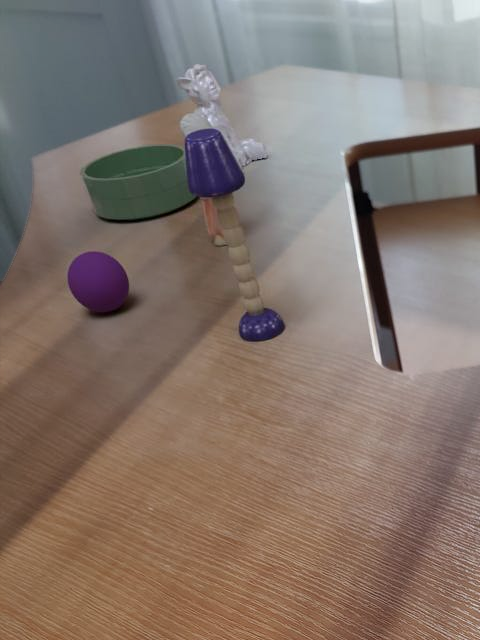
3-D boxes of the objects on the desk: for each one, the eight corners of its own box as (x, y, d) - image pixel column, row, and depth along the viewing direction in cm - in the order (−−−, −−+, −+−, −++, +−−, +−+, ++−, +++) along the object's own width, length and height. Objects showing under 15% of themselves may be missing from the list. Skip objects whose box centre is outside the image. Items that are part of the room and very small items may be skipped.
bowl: (91, 231, 106) (73, 187, 102) (102, 196, 115) (86, 155, 112) (199, 212, 107) (186, 167, 103) (201, 179, 116) (189, 138, 113)
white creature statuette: (236, 179, 114) (208, 74, 106) (181, 179, 117) (149, 76, 109) (271, 156, 121) (246, 54, 112) (218, 156, 123) (189, 56, 115)
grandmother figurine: (214, 230, 102) (177, 106, 93) (247, 225, 102) (213, 101, 93) (207, 255, 96) (166, 126, 87) (241, 250, 96) (204, 121, 87)
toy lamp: (288, 337, 80) (234, 134, 68) (237, 348, 79) (174, 146, 67) (281, 316, 83) (229, 119, 71) (233, 327, 82) (172, 130, 70)
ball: (78, 326, 86) (53, 269, 82) (85, 303, 90) (61, 248, 86) (135, 316, 86) (113, 258, 82) (139, 293, 90) (118, 238, 86)
